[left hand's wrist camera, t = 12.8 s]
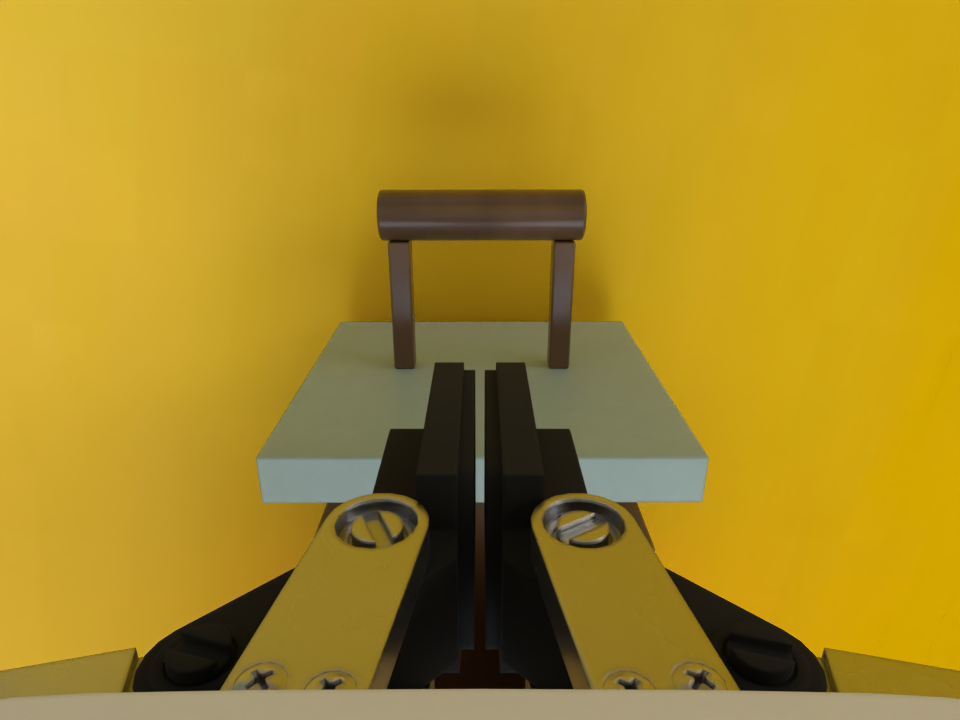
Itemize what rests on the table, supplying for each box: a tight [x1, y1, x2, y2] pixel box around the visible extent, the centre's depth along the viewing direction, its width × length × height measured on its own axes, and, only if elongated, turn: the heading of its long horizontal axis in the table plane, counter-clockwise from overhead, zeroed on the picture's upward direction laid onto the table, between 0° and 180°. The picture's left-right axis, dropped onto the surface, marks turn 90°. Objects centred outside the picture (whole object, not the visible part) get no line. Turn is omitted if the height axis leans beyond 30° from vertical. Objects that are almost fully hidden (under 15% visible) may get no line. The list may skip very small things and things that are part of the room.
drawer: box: [256, 190, 709, 689], centre depth 22 cm, size 25×10×10 cm, turn 0°
